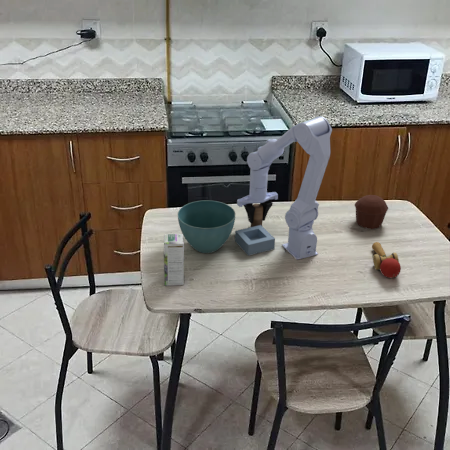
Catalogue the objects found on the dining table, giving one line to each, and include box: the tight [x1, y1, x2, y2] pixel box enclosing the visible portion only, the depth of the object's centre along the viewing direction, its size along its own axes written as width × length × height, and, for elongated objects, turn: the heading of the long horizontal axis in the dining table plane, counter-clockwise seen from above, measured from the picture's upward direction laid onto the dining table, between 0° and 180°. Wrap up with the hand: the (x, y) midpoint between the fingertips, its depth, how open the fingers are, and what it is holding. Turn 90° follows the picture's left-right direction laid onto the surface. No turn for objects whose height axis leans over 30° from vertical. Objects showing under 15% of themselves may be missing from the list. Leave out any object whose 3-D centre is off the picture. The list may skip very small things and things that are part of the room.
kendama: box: [371, 241, 402, 279], centre depth 180 cm, size 8×6×18 cm
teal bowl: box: [177, 199, 236, 254], centre depth 185 cm, size 18×18×12 cm
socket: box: [234, 225, 276, 256], centre depth 188 cm, size 10×10×4 cm
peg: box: [250, 203, 264, 227], centre depth 197 cm, size 4×4×8 cm
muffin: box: [354, 194, 389, 230], centre depth 201 cm, size 12×11×10 cm
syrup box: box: [163, 233, 185, 287], centre depth 168 cm, size 6×6×14 cm
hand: (256, 220), depth 198 cm, fingers closed on peg, 4 cm apart
